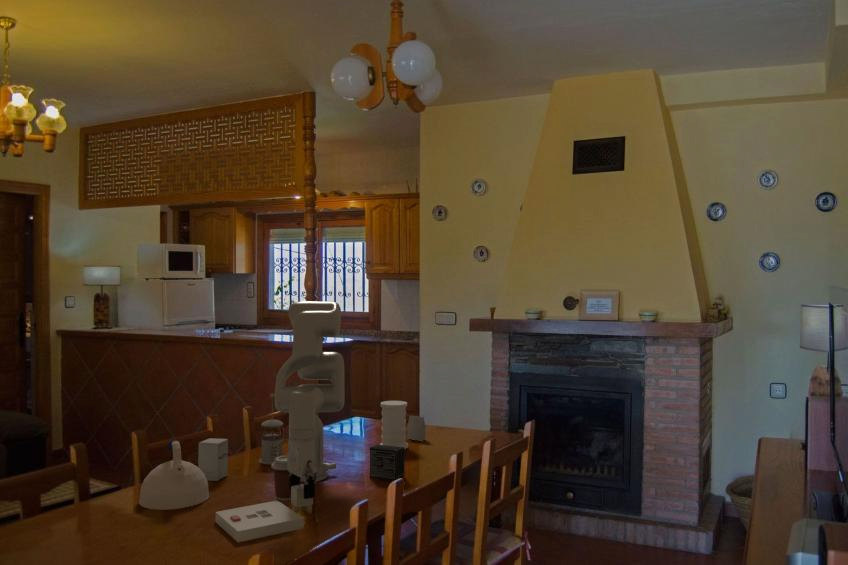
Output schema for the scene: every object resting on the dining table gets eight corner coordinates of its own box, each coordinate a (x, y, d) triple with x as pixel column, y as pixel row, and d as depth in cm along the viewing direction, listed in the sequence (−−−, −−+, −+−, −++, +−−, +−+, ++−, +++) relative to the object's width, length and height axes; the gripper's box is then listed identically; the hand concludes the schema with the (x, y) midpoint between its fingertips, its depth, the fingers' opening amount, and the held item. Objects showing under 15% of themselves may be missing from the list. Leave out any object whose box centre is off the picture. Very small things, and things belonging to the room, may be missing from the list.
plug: (306, 508, 199) (306, 483, 199) (313, 513, 195) (313, 487, 195) (289, 512, 196) (289, 486, 196) (296, 516, 192) (296, 490, 192)
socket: (277, 510, 198) (277, 498, 198) (303, 528, 183) (303, 515, 183) (215, 522, 188) (215, 509, 188) (237, 542, 173) (237, 529, 173)
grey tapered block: (421, 441, 286) (421, 418, 286) (407, 440, 289) (407, 416, 289) (425, 440, 289) (425, 416, 289) (411, 438, 292) (411, 415, 292)
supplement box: (217, 481, 227) (217, 443, 227) (197, 480, 228) (197, 442, 228) (228, 475, 234) (228, 438, 234) (208, 474, 236) (208, 437, 236)
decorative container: (413, 446, 277) (413, 402, 277) (397, 452, 267) (397, 406, 268) (390, 442, 283) (390, 399, 284) (373, 448, 274) (373, 403, 274)
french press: (253, 462, 251) (253, 394, 252) (271, 455, 262) (271, 390, 262) (275, 465, 248) (275, 396, 248) (293, 457, 258) (293, 391, 259)
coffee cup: (286, 503, 204) (287, 463, 204) (264, 498, 208) (265, 459, 209) (307, 495, 211) (307, 457, 211) (285, 491, 216) (285, 453, 216)
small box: (405, 477, 232) (405, 446, 232) (396, 482, 226) (396, 450, 227) (378, 473, 237) (378, 443, 237) (369, 478, 231) (369, 447, 231)
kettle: (142, 515, 194) (142, 451, 194) (135, 495, 212) (136, 437, 212) (215, 504, 203) (215, 444, 203) (203, 486, 221) (203, 430, 222)
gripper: (278, 430, 201) (277, 489, 200) (302, 440, 186) (302, 503, 186) (301, 428, 205) (301, 485, 204) (327, 437, 191) (327, 499, 190)
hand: (301, 494), depth 195 cm, fingers open, 9 cm apart
